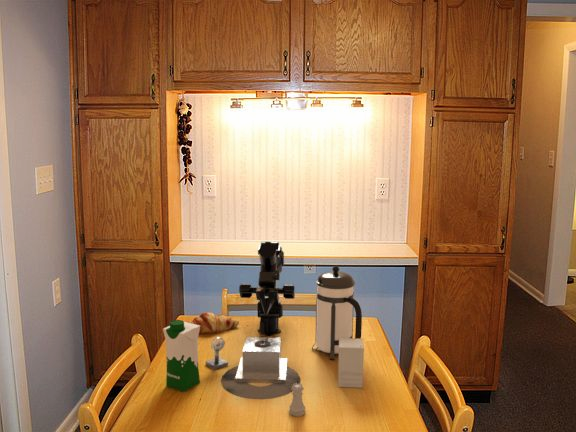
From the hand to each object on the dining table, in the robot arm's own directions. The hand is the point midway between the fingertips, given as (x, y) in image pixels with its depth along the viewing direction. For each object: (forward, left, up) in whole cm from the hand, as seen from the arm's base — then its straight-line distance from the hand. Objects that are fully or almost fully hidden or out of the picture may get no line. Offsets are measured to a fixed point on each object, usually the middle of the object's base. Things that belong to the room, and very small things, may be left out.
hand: (265, 314), depth 184 cm
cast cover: (+10, +10, -13) cm, 20 cm away
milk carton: (+33, +1, -14) cm, 36 cm away
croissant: (+2, -29, -14) cm, 32 cm away
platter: (+14, +14, -14) cm, 24 cm away
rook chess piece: (+19, +35, -14) cm, 42 cm away
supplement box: (-5, +33, -14) cm, 36 cm away
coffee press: (-18, +16, -14) cm, 28 cm away
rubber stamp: (+18, -3, -14) cm, 23 cm away
